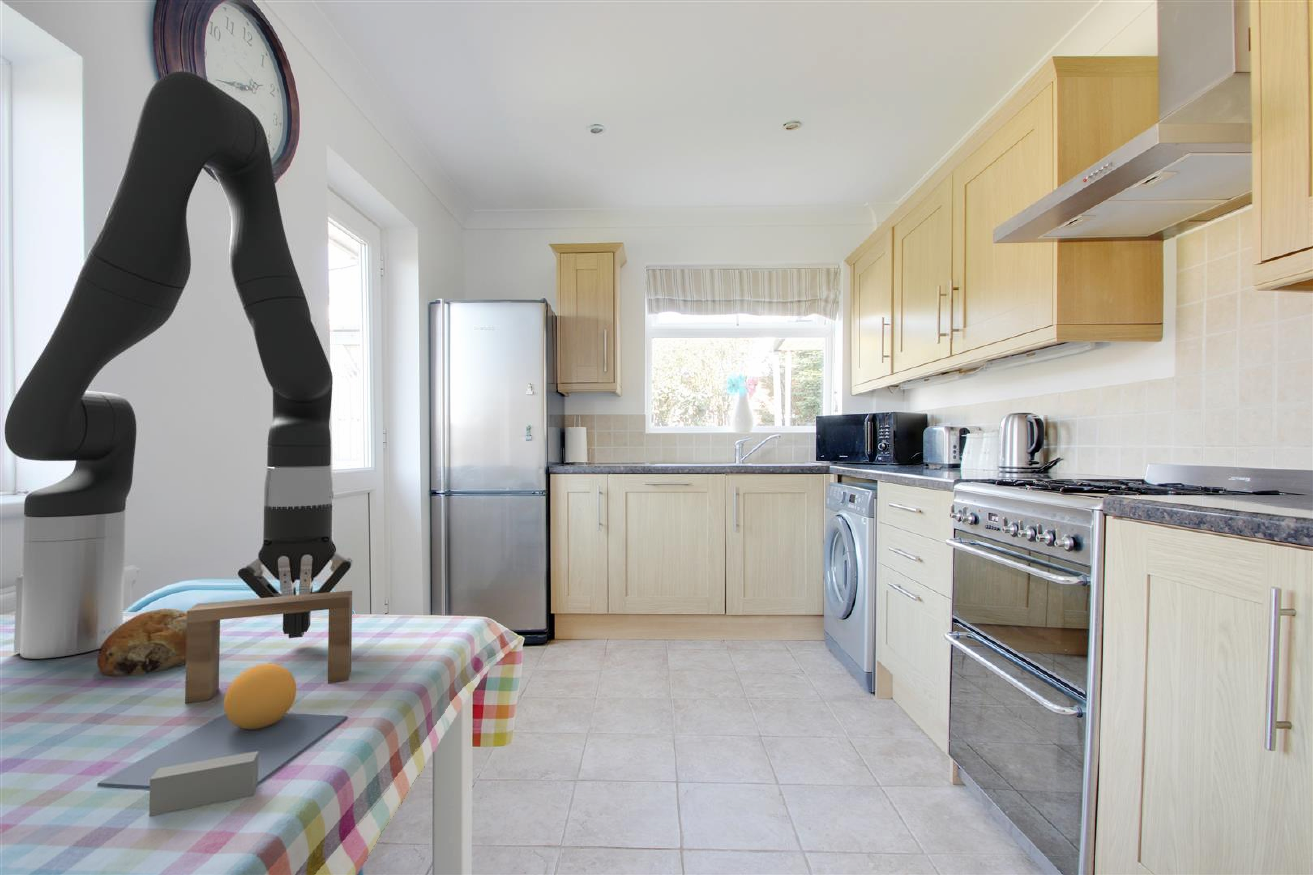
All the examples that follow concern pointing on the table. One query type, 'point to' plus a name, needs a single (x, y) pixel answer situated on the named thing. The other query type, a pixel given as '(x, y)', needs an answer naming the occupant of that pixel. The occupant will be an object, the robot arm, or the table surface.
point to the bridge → (208, 615)
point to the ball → (260, 696)
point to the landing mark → (232, 746)
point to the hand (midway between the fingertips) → (296, 635)
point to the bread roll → (145, 644)
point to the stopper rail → (203, 783)
